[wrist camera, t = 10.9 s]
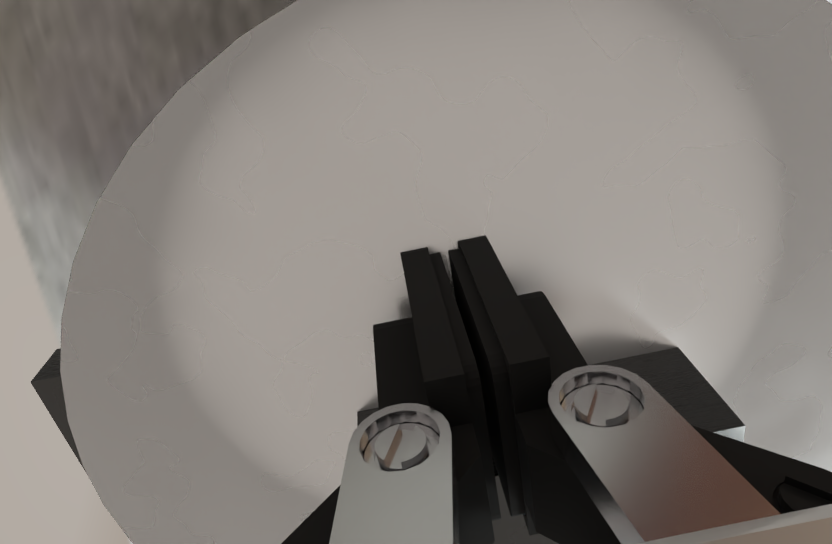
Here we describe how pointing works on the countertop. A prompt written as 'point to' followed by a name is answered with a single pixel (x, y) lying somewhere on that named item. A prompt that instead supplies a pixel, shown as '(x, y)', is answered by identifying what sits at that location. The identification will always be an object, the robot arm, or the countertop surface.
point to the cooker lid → (450, 235)
